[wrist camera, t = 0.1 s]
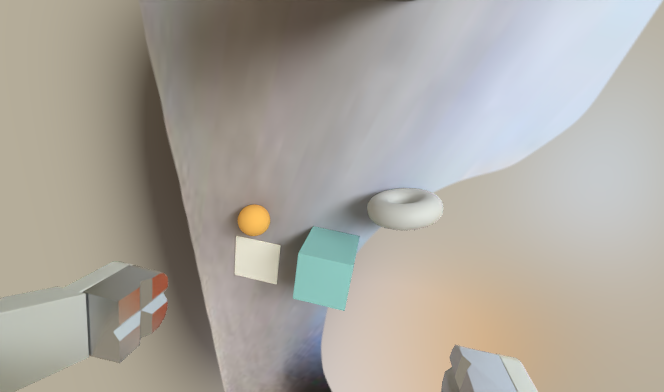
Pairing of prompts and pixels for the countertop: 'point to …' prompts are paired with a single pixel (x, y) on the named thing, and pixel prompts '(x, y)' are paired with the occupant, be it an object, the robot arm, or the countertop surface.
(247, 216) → the ball
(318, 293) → the teal cube
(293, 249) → the countertop surface
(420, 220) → the donut
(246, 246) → the square tile
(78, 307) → the robot arm
